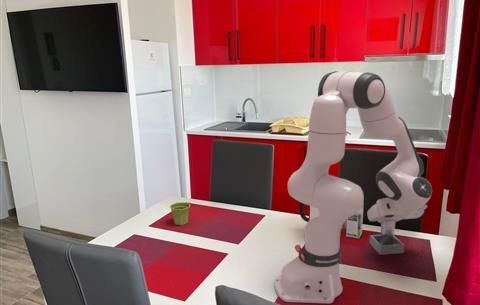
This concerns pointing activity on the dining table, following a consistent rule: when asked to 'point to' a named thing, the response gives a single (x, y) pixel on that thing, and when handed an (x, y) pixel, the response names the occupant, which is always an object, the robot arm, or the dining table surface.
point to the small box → (344, 225)
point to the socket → (386, 246)
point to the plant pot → (180, 212)
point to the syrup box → (355, 224)
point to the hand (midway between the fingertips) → (387, 220)
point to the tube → (387, 232)
